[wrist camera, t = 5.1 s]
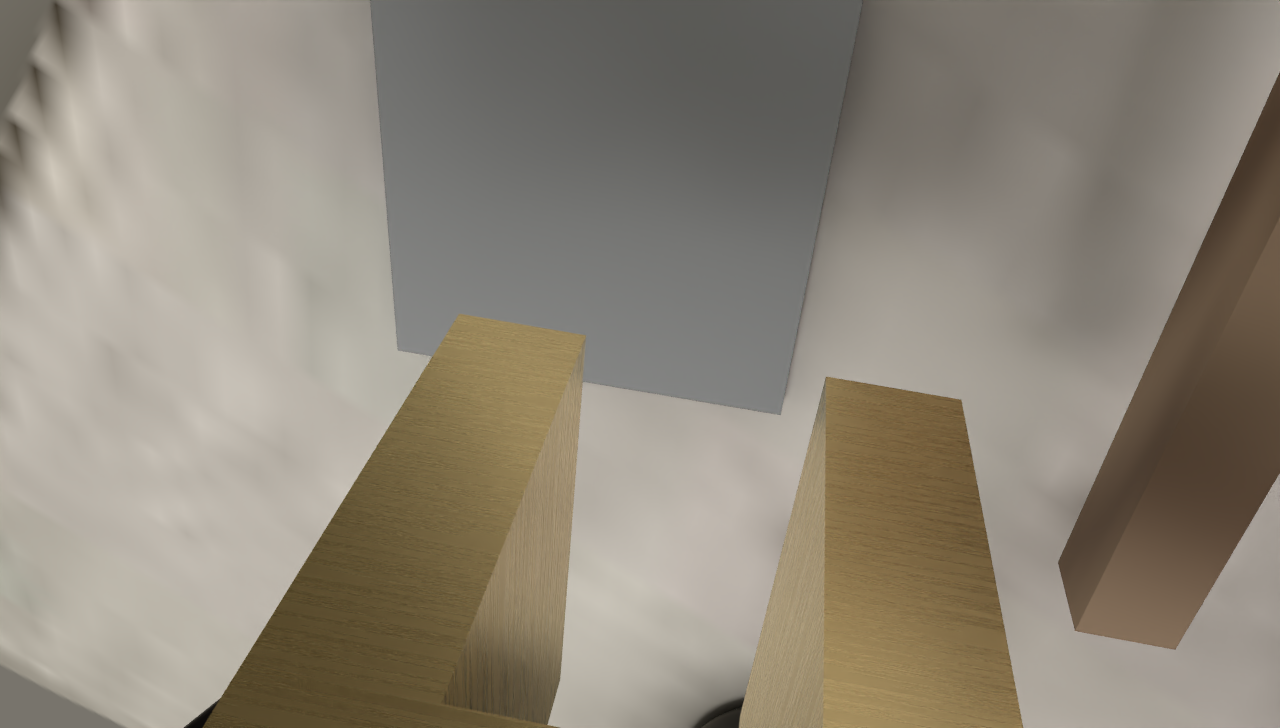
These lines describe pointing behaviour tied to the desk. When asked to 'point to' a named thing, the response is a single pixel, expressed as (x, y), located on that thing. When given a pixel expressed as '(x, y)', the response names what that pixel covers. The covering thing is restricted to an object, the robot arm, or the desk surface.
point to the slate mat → (614, 177)
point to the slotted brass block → (539, 560)
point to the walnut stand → (1192, 427)
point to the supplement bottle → (725, 720)
